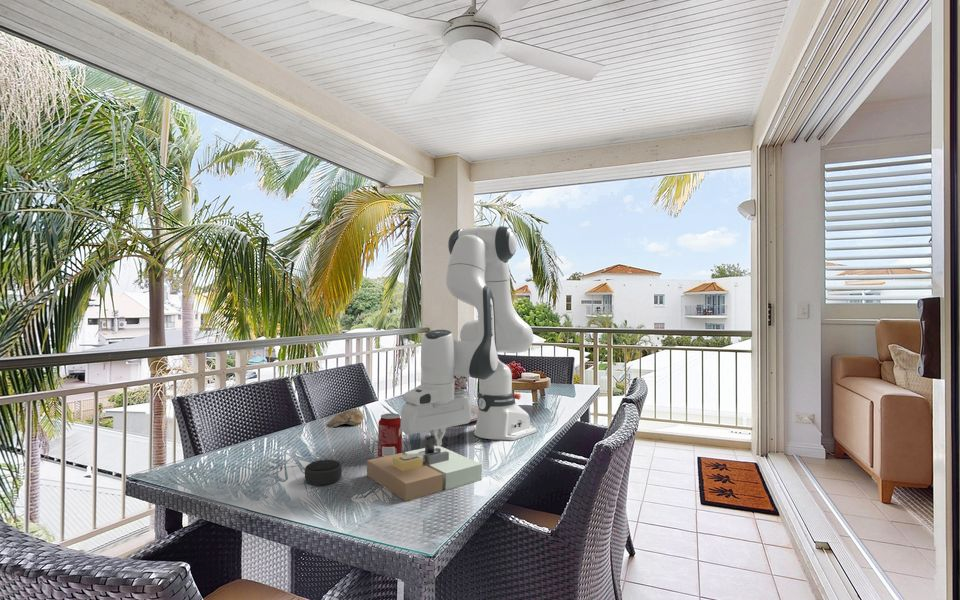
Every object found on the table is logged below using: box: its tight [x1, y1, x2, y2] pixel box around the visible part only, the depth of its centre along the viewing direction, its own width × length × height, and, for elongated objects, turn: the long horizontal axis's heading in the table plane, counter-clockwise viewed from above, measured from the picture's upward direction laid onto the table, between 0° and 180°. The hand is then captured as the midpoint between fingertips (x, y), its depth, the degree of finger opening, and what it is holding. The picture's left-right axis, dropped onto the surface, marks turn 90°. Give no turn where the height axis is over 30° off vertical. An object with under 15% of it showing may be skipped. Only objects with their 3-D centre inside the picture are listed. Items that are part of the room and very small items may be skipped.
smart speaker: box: [304, 459, 343, 486], centre depth 123 cm, size 9×9×4 cm
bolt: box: [400, 434, 438, 463], centre depth 124 cm, size 10×2×6 cm, turn 129°
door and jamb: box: [366, 445, 483, 502], centre depth 125 cm, size 22×20×6 cm
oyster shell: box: [328, 408, 365, 428], centre depth 178 cm, size 10×12×5 cm
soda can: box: [377, 412, 403, 458], centre depth 141 cm, size 7×7×12 cm
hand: (437, 445), depth 128 cm, fingers closed
